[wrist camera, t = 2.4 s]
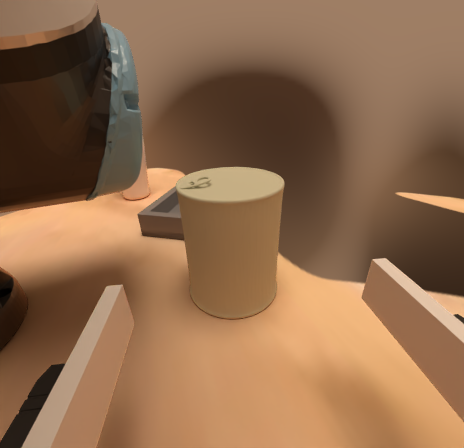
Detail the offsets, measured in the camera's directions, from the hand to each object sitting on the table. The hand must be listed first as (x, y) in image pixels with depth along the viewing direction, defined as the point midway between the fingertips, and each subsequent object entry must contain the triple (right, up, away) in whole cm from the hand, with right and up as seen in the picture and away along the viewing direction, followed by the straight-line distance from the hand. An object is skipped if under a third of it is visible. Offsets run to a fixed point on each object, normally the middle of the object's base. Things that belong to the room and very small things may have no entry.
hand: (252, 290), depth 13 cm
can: (-1, -3, +13) cm, 13 cm away
